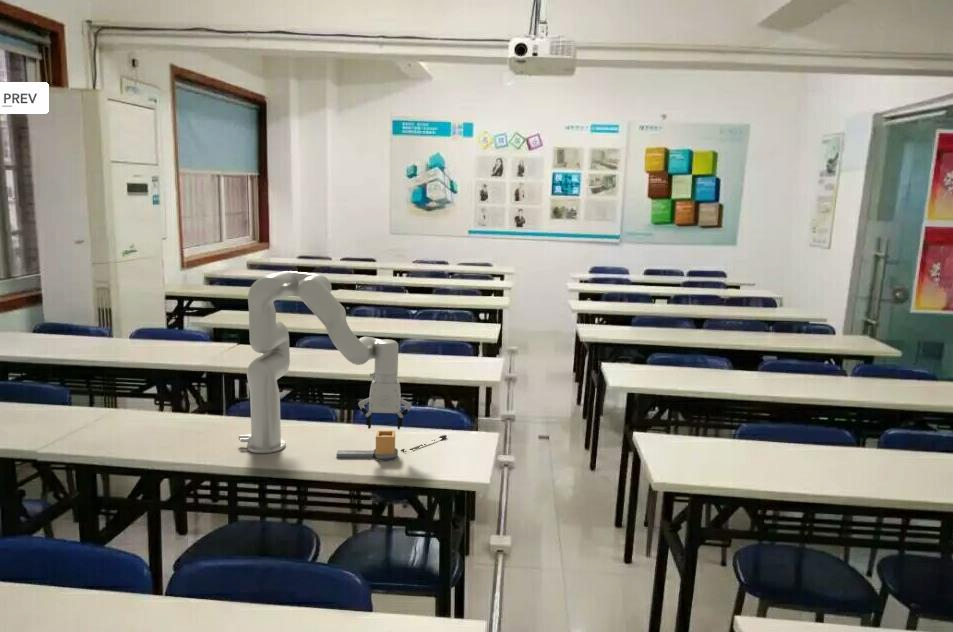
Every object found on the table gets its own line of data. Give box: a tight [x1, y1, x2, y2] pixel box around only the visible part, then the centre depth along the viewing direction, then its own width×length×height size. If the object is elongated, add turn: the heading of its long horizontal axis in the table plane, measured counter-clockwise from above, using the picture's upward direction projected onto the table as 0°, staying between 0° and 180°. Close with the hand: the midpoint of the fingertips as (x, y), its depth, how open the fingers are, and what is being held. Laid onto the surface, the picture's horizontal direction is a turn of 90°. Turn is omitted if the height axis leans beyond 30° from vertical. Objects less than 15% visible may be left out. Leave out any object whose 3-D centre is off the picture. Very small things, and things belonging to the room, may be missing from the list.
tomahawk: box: [400, 434, 448, 453], centre depth 233 cm, size 21×7×1 cm, turn 138°
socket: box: [375, 429, 396, 454], centre depth 221 cm, size 6×6×6 cm
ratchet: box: [336, 435, 399, 462], centre depth 221 cm, size 20×8×7 cm, turn 94°
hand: (384, 427), depth 221 cm, fingers open, 9 cm apart
